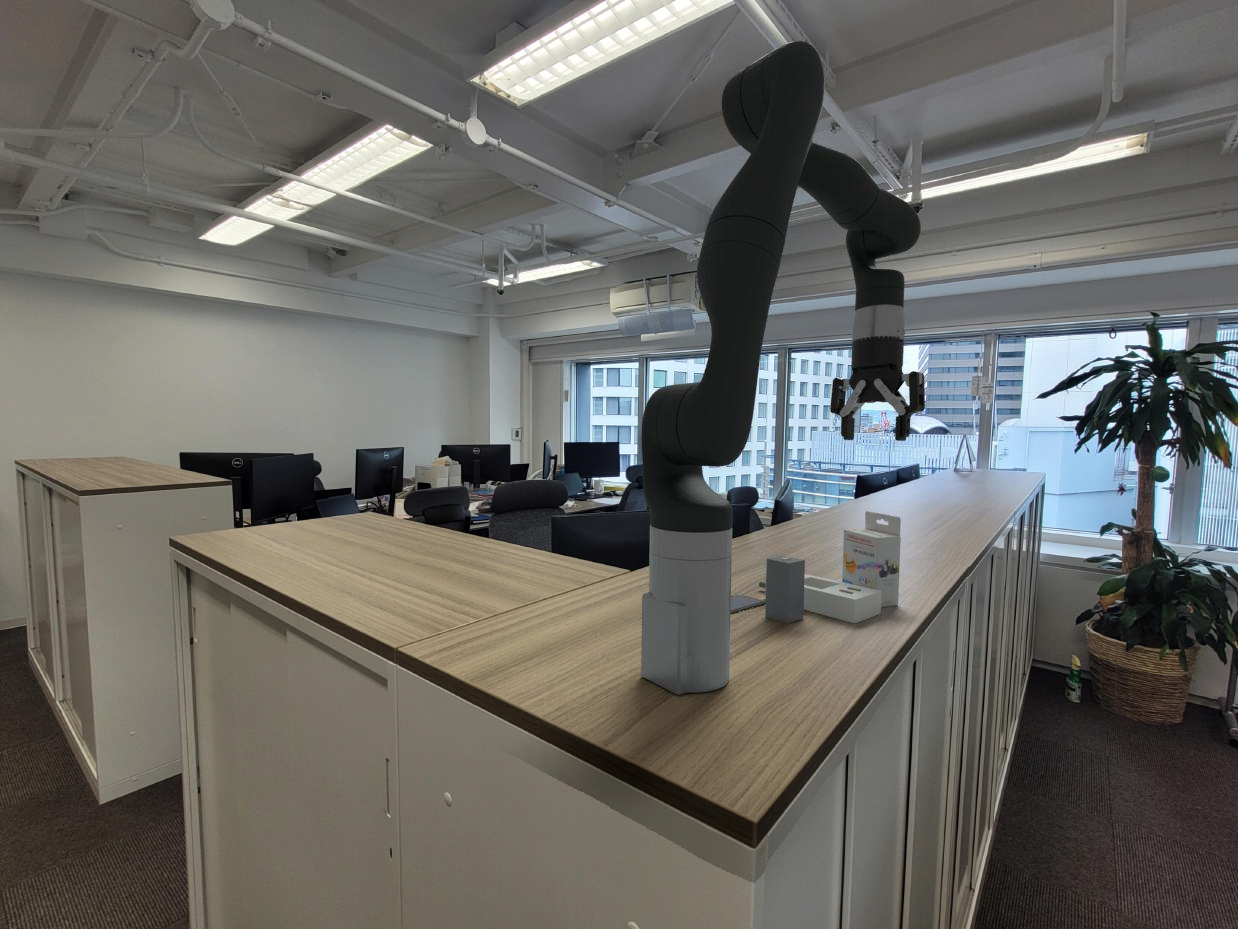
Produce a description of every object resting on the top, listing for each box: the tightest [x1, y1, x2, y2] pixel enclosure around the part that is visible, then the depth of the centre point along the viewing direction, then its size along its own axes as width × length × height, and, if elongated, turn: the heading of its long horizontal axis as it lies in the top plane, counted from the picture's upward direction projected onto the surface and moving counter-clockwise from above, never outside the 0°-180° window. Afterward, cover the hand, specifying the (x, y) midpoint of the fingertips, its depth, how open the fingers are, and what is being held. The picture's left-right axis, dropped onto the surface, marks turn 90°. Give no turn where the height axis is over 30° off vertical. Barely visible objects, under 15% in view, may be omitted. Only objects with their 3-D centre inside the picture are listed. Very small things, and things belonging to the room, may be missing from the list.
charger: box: [765, 555, 806, 625], centre depth 85 cm, size 4×4×9 cm
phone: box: [730, 594, 766, 615], centre depth 91 cm, size 12×6×1 cm, turn 128°
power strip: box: [758, 573, 882, 624], centre depth 93 cm, size 8×20×4 cm, turn 39°
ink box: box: [841, 510, 902, 608], centre depth 95 cm, size 8×5×15 cm, turn 17°
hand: (873, 440), depth 90 cm, fingers open, 8 cm apart
